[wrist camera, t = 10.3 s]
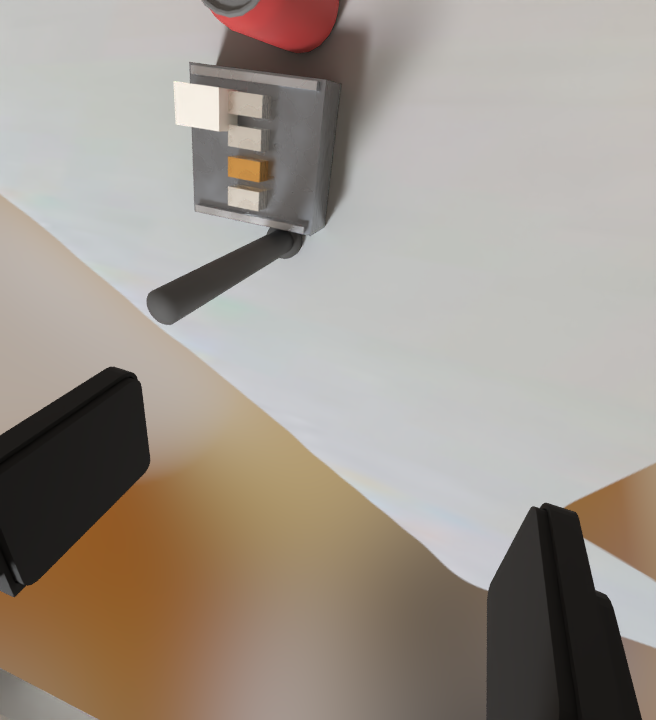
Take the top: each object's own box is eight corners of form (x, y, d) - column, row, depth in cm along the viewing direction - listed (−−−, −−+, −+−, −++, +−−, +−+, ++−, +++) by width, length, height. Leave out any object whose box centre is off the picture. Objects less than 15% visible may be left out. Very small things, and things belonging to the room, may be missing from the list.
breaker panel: (341, 83, 36) (319, 77, 32) (324, 227, 43) (304, 239, 38) (215, 67, 39) (177, 59, 34) (216, 205, 45) (184, 214, 40)
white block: (238, 90, 35) (219, 87, 33) (237, 131, 37) (219, 131, 34) (195, 84, 36) (173, 81, 34) (196, 124, 38) (175, 124, 35)
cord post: (303, 225, 43) (185, 287, 26) (300, 260, 45) (188, 339, 28) (270, 218, 44) (135, 274, 27) (268, 252, 46) (141, 325, 29)
